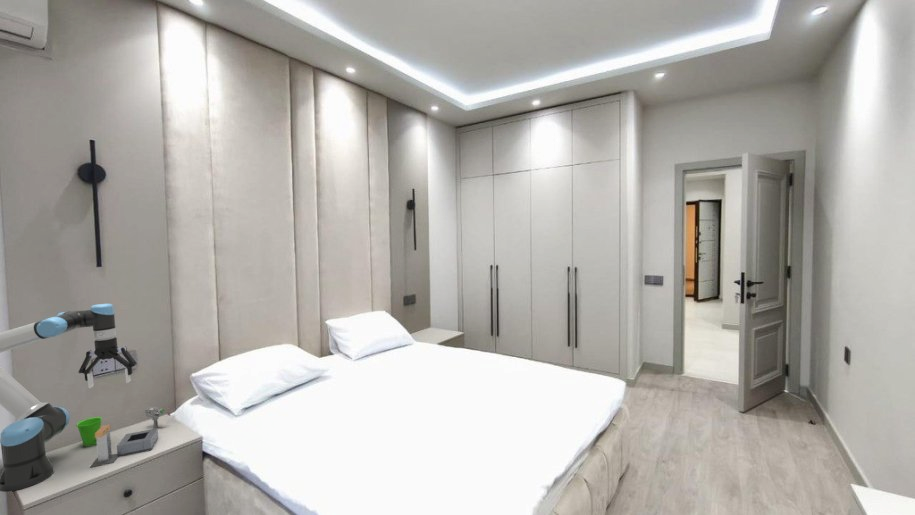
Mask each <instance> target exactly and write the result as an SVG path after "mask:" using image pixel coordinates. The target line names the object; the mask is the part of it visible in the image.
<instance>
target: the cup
mask: <svg viewBox="0 0 915 515" xmlns="http://www.w3.org/2000/svg"><path fill="white" fill-rule="evenodd" d="M102 420H103V418H102V416H101V417H100V416H96V417H90V418H86V419H83V420H81V421H78V422H77V423H76V427H77V428H78V432H79V435H80V437H81V438H80V439H81V440H82V444H83V446H84V447H85V446H88V447H92V446H95V445H97V440H96V438H95V433H96V432H97V431H98V430H99V429H100V428H101V427H102V425H101V424H102Z"/></svg>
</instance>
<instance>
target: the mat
mask: <svg viewBox="0 0 915 515" xmlns="http://www.w3.org/2000/svg"><path fill="white" fill-rule="evenodd" d="M118 458H119V457H118V454H117V453H114V454H112V457H111V459H110V460H109V461H106V462H101V463H98V457H96V458H95V460H93V463H91V465H90V466H89V468H91V469H92V468H96V467H100V466H105V465H111V464H114V463H115V462H116V460H117V459H118Z"/></svg>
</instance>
